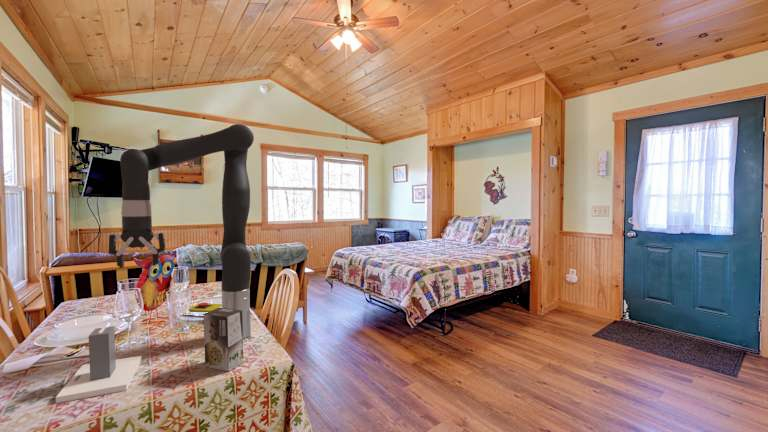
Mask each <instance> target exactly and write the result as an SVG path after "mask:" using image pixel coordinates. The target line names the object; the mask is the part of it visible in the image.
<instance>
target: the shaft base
mask: <svg viewBox="0 0 768 432" xmlns="http://www.w3.org/2000/svg"><path fill="white" fill-rule="evenodd" d="M115 361H116V368H115V370H114V372H113V373H112V375H111V377H109V378H103V379H97V380H91V381H90V363H85V364H82V365H81V366H80V368H79V369H78V370H77V371H76V373H75V374H74V375H73V376H72V377H71V378H70V379H69V381H68V382H67V383H66V384H65V385H64V387H63V388H62V389H61V390H60V391H59V392H58V394H57V395H56V396H55V404H59V403H65V402H70V401H71V402H72V401H75V400H81V399H86V398H92V397H98V396H103V395H107V394H108V395H109V394H114V393H118V392H124V391H125V392H126V391H127V390H128V388H129V386H130V384H131V382H132V380H133V378H134V376H135V374H136V372H137V370H138V368H139V366H140V364H141V362H142V355H137V356H131V357H125V358H118V359H115Z"/></svg>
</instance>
